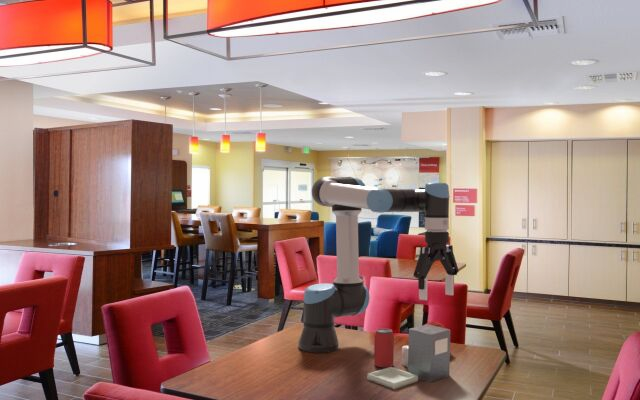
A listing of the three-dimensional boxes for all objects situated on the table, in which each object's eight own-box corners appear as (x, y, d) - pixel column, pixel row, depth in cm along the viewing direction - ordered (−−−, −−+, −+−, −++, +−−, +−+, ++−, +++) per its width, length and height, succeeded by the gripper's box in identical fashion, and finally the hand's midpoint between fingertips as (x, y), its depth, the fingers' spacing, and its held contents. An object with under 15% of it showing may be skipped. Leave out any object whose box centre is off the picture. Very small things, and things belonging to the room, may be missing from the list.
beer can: (392, 369, 188) (393, 333, 188) (373, 367, 190) (373, 332, 189) (394, 363, 195) (394, 328, 194) (375, 361, 196) (375, 327, 196)
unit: (406, 374, 183) (407, 328, 183) (426, 368, 190) (427, 324, 189) (430, 382, 176) (431, 334, 176) (450, 375, 182) (451, 329, 182)
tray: (367, 379, 178) (367, 373, 178) (391, 372, 185) (391, 366, 185) (394, 389, 169) (394, 383, 169) (417, 381, 177) (418, 375, 177)
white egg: (398, 364, 194) (399, 347, 193) (408, 361, 197) (408, 344, 197) (410, 368, 190) (410, 350, 190) (419, 365, 193) (420, 347, 193)
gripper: (421, 233, 169) (421, 303, 169) (469, 230, 186) (469, 294, 186) (402, 231, 175) (401, 300, 175) (450, 229, 191) (450, 291, 191)
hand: (436, 297), depth 180 cm, fingers open, 13 cm apart
